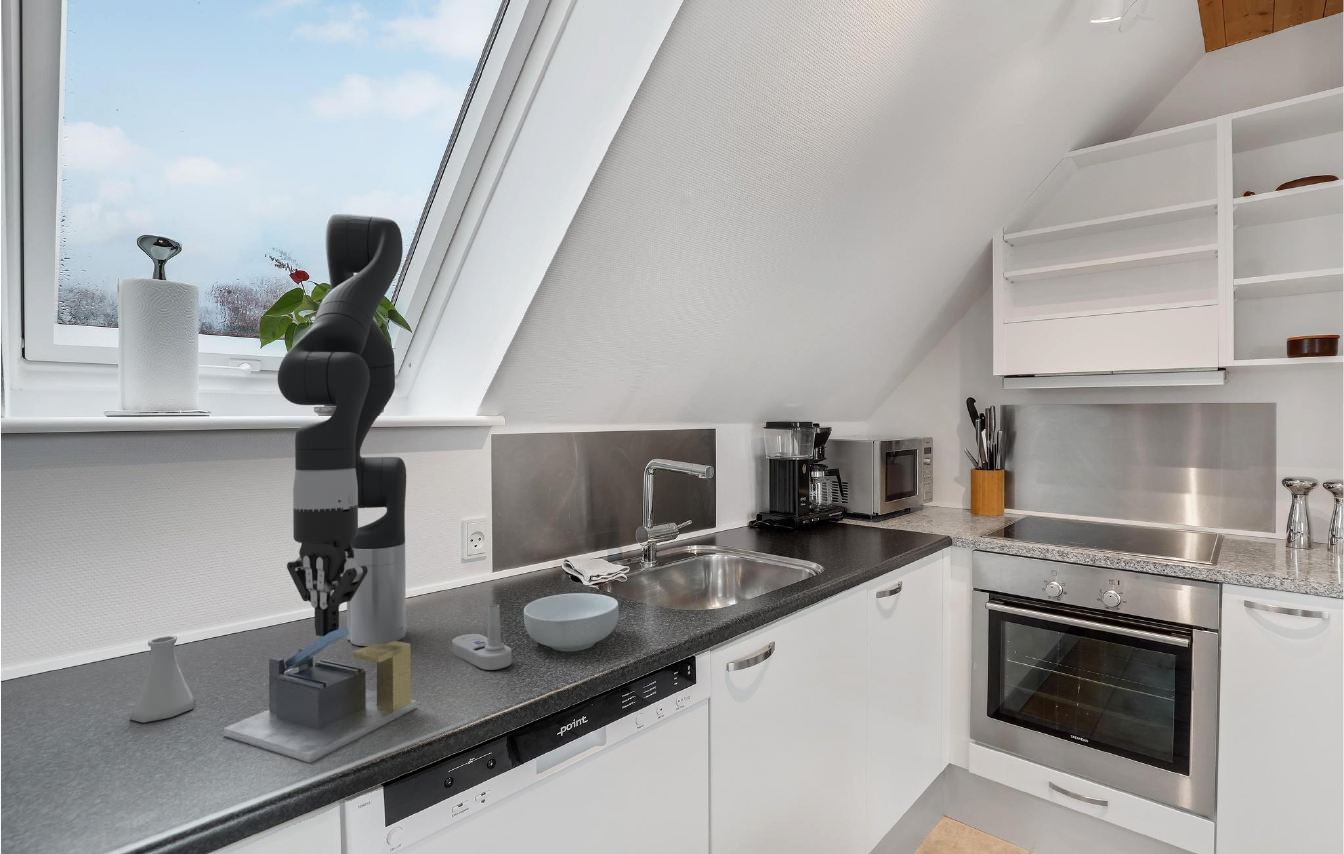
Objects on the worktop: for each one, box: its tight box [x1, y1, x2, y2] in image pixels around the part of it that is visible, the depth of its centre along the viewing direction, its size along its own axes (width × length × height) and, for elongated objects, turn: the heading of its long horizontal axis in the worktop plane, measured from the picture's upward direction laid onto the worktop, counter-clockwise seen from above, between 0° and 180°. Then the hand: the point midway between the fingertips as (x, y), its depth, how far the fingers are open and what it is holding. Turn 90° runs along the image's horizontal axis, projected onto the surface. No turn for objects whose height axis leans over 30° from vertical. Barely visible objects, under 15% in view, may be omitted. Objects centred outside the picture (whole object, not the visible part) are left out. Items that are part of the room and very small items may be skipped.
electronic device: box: [451, 604, 513, 671], centre depth 109 cm, size 5×10×15 cm
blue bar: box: [284, 626, 349, 673], centre depth 87 cm, size 12×3×1 cm
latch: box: [353, 640, 412, 712], centre depth 87 cm, size 4×5×8 cm
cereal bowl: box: [523, 592, 619, 652], centre depth 116 cm, size 17×17×7 cm
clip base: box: [223, 647, 417, 764], centre depth 86 cm, size 16×16×8 cm
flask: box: [129, 634, 196, 723], centre depth 89 cm, size 7×7×10 cm
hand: (327, 634), depth 86 cm, fingers closed
